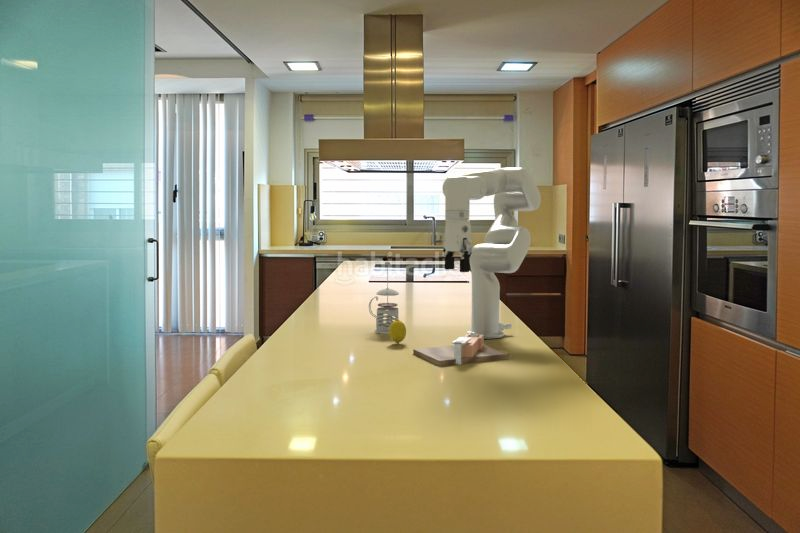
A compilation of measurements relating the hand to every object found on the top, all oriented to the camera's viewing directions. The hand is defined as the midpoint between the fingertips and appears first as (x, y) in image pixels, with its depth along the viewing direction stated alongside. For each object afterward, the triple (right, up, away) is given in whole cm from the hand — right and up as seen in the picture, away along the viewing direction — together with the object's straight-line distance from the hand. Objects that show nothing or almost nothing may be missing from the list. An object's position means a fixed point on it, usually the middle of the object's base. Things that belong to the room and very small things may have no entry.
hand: (456, 270), depth 216 cm
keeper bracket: (0, -26, -18) cm, 32 cm away
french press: (-23, -22, +29) cm, 43 cm away
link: (+3, -24, -11) cm, 27 cm away
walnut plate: (0, -25, -11) cm, 28 cm away
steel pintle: (+5, -23, -6) cm, 25 cm away
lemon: (-19, -24, +7) cm, 31 cm away
